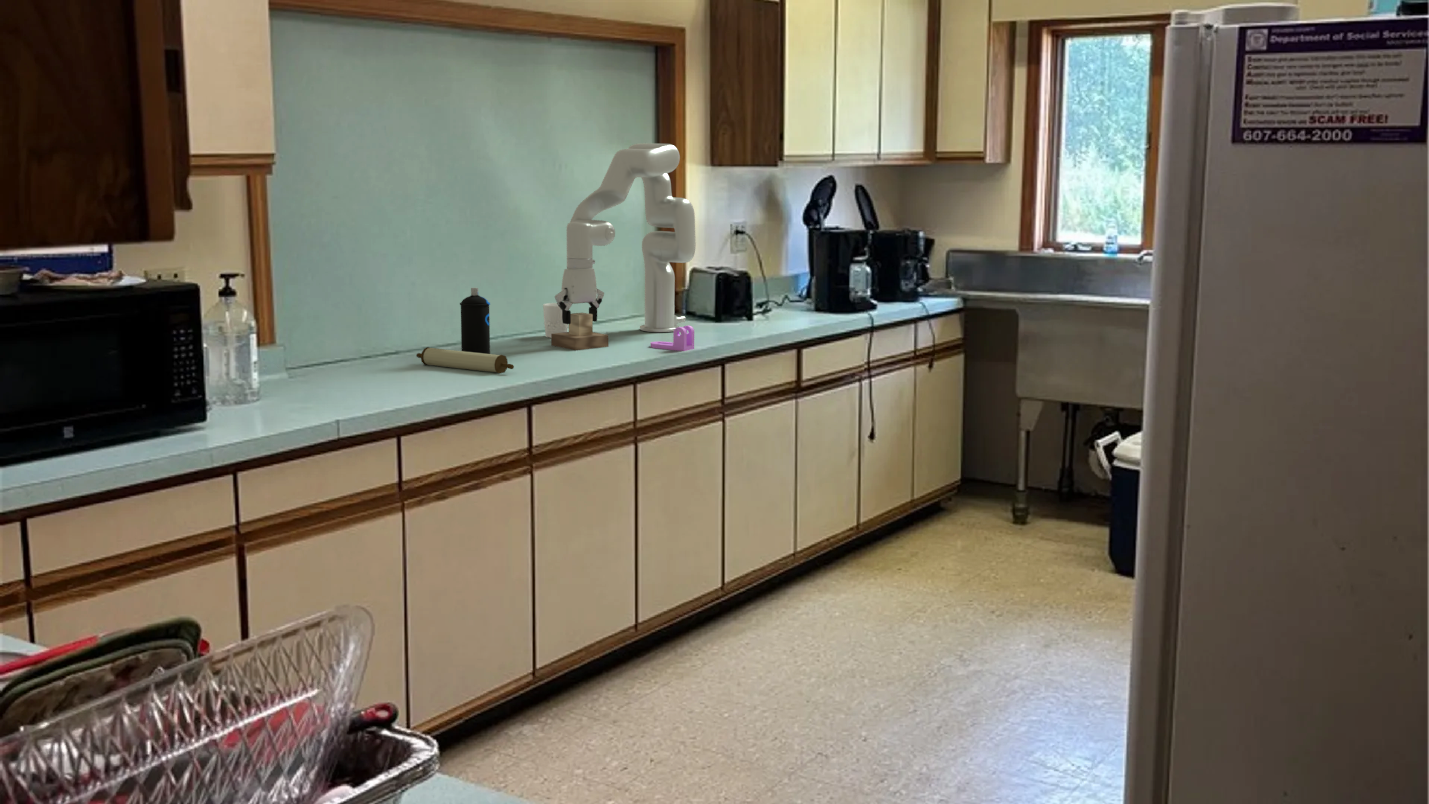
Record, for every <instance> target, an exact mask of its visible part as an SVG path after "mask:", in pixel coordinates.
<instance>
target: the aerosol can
mask: <svg viewBox="0 0 1429 804" xmlns="http://www.w3.org/2000/svg"><path fill="white" fill-rule="evenodd" d="M490 305H491V302H489V300H488V299H487V298H485V297H484V296H481V295H479V287H471V288H470V295H469V296H466V297H465V298H464V299H462V300H461V302H459V306H460V334H461V335H460V336H461V337H460V338H461V339H460V341H461V342H460V345H461V351H464V352H473V353H483V354H491V337H490V336H491V334H490V332H491V329H490V327H491V326H490V325H491V324H490V323H491V322H490Z"/></svg>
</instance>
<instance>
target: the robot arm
mask: <svg viewBox="0 0 1429 804" xmlns="http://www.w3.org/2000/svg"><path fill="white" fill-rule="evenodd" d="M680 159H681V156H680V152H679V150H678V148H677V147H676V146H675V145H673V144H671V143H651V142H645V143H643V142H641V143H634V144H632V145H630V146H629V147H628V148H622V149H620V150H618V151H616V152H615V154H614V156H613V158H612V159H611V162H610V164H609V166H608V169H607V171H606V173H605V175H604V177H603V179H602V181H601V184H600V186H599V187H598V188H597V189H596V190H594V191H593V192H592V193H590V194H589V195H588V196H587V197H585V198H584V199H583V200H582V201H581V202H580V203H579V204H578V205H577V207H576V208H575V210H574V212H573V214H572V217H571V219H570V221H569V223H567V226H566V268H565V269H563V274H562V280H561V290H560V292H559V293H557V294H555V296H554V299H555V303H557V305H558V306H559V307H560V309H561V310H562V320H563V323H564V324H568V325H569V324H571V314H572V312H571V310H570V309H571V307H572V306H573V304H574V305H575V304H577V305H578V304H586V303H587V304H588V305H589V306H590V307H588V314H593V322H595V323H596V322H598V308H599V307H600V304H601V303H602V302H603V298H604V296H605V292H604V291H602V290H600V289H598V287H597V280H596V279H597V278H596V272H595V269H594V267H593V265H595V263H596V260H595V259H593V258H594V257H593V246H594V247H595V246H597V247H605V246H607V245H610V244H611V243H613V241H614V239H615V237H616V229H615V227H614V225H613V224H612V223H610V222H609V221H606V220H602V219H601V220H600V219H593V218H595V217H596V216H597V215H599V214H600V213H602V212H604V211H605V210H608V209H612V208H613V207H616V206H619V205H620V204H622V203H624V202H625V201H626V200H627V197H628V195H629V192H630V189H631V187H632V185H633V183H634V181H635V179H636V178H641V179H642V181H643V187H644V189H643V190H644V208H645V209H644V211H645V212H644V215H645V219H646V222H647V224H648V225H650V226H651V227H654V228H655V227H656V228H666V229H667V228H669V229H674V231H668V230H667V231H664V230H655V231H650V232H648V233H646V234H645V235H644V236H643V238H642V241H641V251H642V256H643V263H644V264H643V265H644V324H641V325H639V330H641V331H644V332H650V333H671V332H674V330H675V328H677V327H680V326H679V325H678V324H679V323H681V324H682V323H685V322H686V317H685V316H677V315H675V294H676V293H675V291H676V290H675V286H676V285H675V283H676V282H675V280H676V277H675V272H674V269H673V267H672V265H671V263H676V264H677V263H679V264H680V263H682V264H685V263H689V262H690V261H692V259H694V257H695V255H696V243H697V242H696V217H695V215H696V214H695V209H694V206H693V204H692V202H690V200H688V199H687V198H684V197H673V193H672V183H671V178H670V175H669V173H672V172H673V171H674V170H676V169H677V167H678V165H680Z"/></svg>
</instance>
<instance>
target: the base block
mask: <svg viewBox="0 0 1429 804" xmlns="http://www.w3.org/2000/svg"><path fill="white" fill-rule="evenodd" d="M550 339H551V341H550V342H551V343H550V344H551V346H552V347H557V348H563V349H566V350H573V351H583V350H590V349H591V350H592V349H599V348H600V349H601V348H608V347H610V346H609V341H610V340H609V339H610V338H609V334H606V333H600V332H595V331H593V334H592V335H583V336H577V335H572V334H569V331H567V332H563V333H553V334H551V338H550Z"/></svg>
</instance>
